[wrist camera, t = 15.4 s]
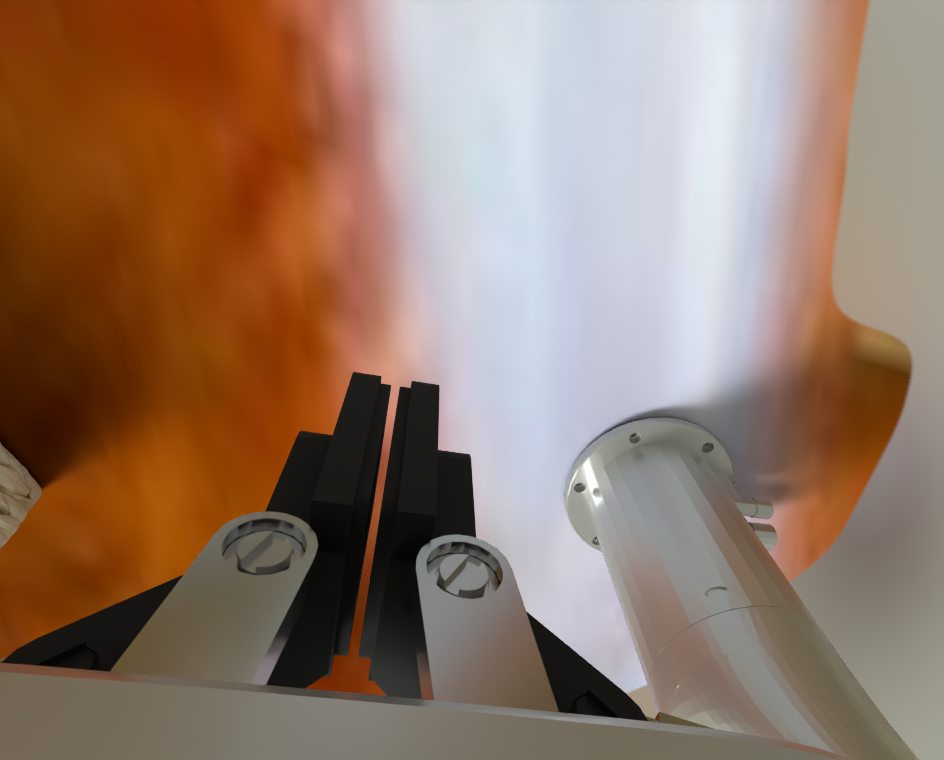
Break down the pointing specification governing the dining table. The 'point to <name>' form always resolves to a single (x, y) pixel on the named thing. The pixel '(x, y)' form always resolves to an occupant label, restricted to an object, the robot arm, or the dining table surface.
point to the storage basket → (14, 494)
